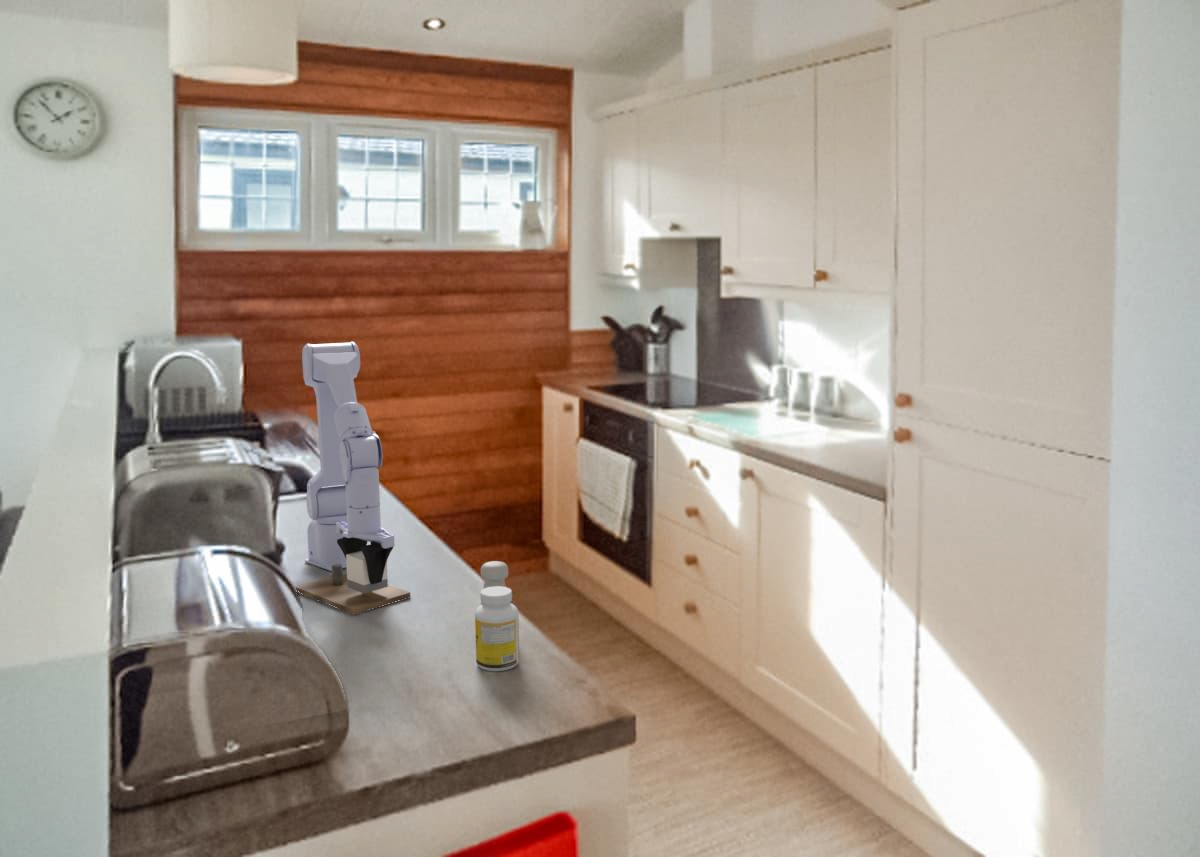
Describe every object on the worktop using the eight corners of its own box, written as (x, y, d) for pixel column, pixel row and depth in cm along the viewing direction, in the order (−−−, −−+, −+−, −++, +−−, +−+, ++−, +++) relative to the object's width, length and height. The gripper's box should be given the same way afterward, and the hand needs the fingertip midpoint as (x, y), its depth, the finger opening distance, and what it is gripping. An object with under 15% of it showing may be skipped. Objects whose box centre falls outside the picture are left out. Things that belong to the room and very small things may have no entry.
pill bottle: (495, 653, 166) (493, 581, 164) (528, 662, 163) (526, 589, 161) (467, 666, 161) (465, 592, 159) (500, 676, 157) (498, 601, 155)
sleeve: (347, 587, 190) (346, 554, 189) (370, 580, 193) (369, 548, 192) (364, 593, 186) (363, 560, 185) (387, 586, 190) (386, 554, 189)
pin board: (295, 592, 195) (294, 568, 194) (351, 576, 204) (350, 553, 203) (354, 615, 183) (352, 589, 182) (410, 597, 192) (409, 573, 191)
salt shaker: (508, 649, 168) (506, 570, 165) (472, 647, 169) (470, 567, 166) (518, 636, 173) (516, 558, 171) (484, 633, 174) (482, 556, 172)
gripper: (319, 502, 189) (323, 576, 191) (369, 516, 179) (372, 593, 182) (353, 494, 194) (356, 567, 197) (403, 508, 185) (405, 583, 187)
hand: (366, 579), depth 190 cm, fingers closed on sleeve, 5 cm apart
